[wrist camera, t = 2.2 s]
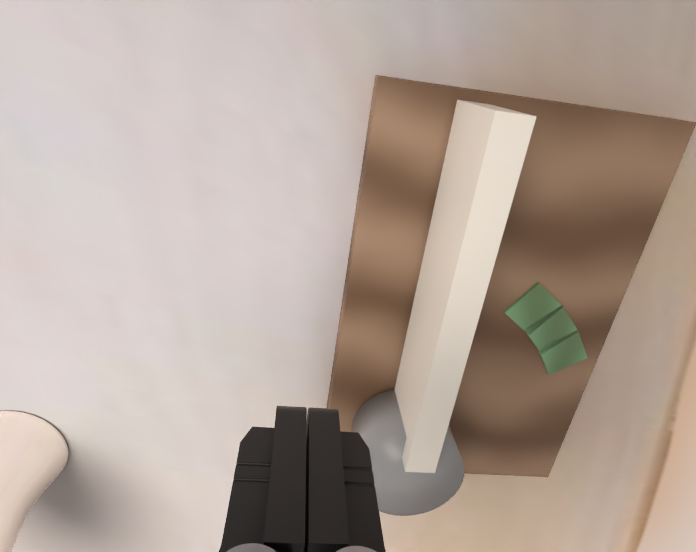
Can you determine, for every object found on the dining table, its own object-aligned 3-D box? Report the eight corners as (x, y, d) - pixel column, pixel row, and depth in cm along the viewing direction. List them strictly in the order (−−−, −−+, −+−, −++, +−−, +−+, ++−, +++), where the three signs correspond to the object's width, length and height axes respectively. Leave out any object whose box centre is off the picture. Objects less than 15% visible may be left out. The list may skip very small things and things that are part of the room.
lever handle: (434, 464, 31) (455, 532, 27) (345, 460, 31) (351, 529, 26) (534, 110, 22) (591, 124, 18) (411, 93, 22) (437, 102, 17)
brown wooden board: (375, 75, 23) (380, 76, 21) (675, 119, 25) (699, 123, 23) (320, 449, 33) (320, 469, 31) (538, 460, 34) (549, 479, 33)
